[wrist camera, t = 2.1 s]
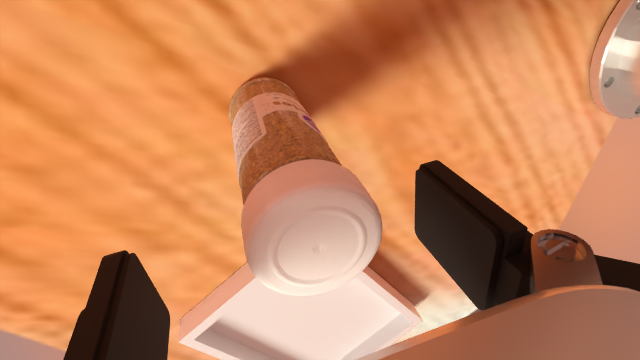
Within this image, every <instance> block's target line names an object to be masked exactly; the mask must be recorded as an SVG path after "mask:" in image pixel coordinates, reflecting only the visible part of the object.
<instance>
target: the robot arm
mask: <svg viewBox="0 0 640 360" xmlns="http://www.w3.org/2000/svg"><path fill="white" fill-rule="evenodd" d="M589 84H590V91H591V95H592V98H593V100H594V103H595V104H596V105H597V106H598V107H599V109H600V110H602V111H604V112H605V113H607V114H610V115H613V116H616V117H619V118H629V119H632V118H637V117H640V0H620V1H619V3H618V4H617V6H616V7H615V9H614V11H613V12H612V14H611V15H610V17H609V18H608V20H607V22H606V24H605V26H604V28H603V30H602V32H601V34H600V36H599V39H598V42H597V44H596V47H595V50H594V53H593V57H592V61H591V66H590V77H589ZM527 229H528V228H527V227H526V226H525V225H523V224H522V223H521V222H519V221H518V220H517V219H515V218H514V217H513V216H511V215H510V214H509V213H507V212H506V211H505V210H503V209H502V208H501V207H499V206H498V205H497V204H495V203H494V202H493V201H491V200H490V199H489V198H487V197H486V196H485V195H483V194H482V193H481V192H480V191H478V190H477V189H476V188H474V187H473V186H472V185H470V184H469V183H468V182H466V181H465V180H464V179H462V178H461V177H460V176H458V175H457V174H456V173H454V172H453V171H452V170H450V169H449V168H448V167H446V166H445V165H444V164H442V163H441V162H440V161H438V160H435V161H431V162H428V163H424V164H421V165H420V167H419V169H418V170H417V171H416V181H415V233H416V235H417V237H418V239H419V240H420V241H421V242H422V243H423V245H424V246H425V247H426V248H427V249H428V250H429V252H430V253H431V254H432V255H433V256H434V258H435V259H436V260H437V261H438V262H439V263H440V265H441V266H442V267H443V268H444V269H445V270H446V272H447V273H448V274H449V275H450V276H451V278H452V279H453V280H454V281H455V282H456V283H457V285H458V286H459V287H460V288H461V289H462V290H463V292H464V293H465V294H466V295H467V296H468V298H469V299H470V300H471V301H472V302H473V303H474V305H475V306H476V307H477V308H478V309H480V310H483V311H481V312H478V313H475V314H472V315H470V316H467V317H464V318H462V319H459V320H457V321H454V322H451V323H449V324H446V325H443V326H441V327H438V328H436V329H433V330H430V331H428V332H425V333H423V334H420V335H417V336H415V337H412V338H409V339H407V340H404V341H402V342H399V343H396V344H394V345H391V346H389V347H386V348H384V349H381V350H378V351H376V352H373V353H371V354H368V355H366V356H363V357H360V358H358V359H355V360H640V264H636V263H632V262H627V261H622V260H617V259H613V258H608V257H602V256H598V255H594V253H593V250H592V249H591V247H590V245H588V244H587V243H586V242H585V241H584V240H583V239H581V238H579V237H578V236H576V235H574V234H571V233H569V232H565V231H561V230H553V229H547V230H541V231H539V232H537V233H535V234H534V235H533V234H531V233H530V232H529V231H527ZM169 329H170V315H169V311H168V309H167V307H166V305H165V304H164V302H163V300H162V298H161V297H160V295H159V293H158V292H157V290H156V288H155V286H154V285H153V283H152V281H151V280H150V278H149V276H148V274H147V273H146V271H145V269H144V268H143V266H142V264H141V262H140V261H139V259H138V257H137V256H136V254H135V253H131V254H129V253H128V252H127V251H125V250H124V251H120V252H117V253H113V254H110V255H107V256H104V257H103V258H102V261H101V263H100V266H99V269H98V272H97V275H96V278H95V281H94V284H93V287H92V290H91V293H90V296H89V299H88V302H87V305H86V308H85V309H84V310H83V311H82V312H81V313H80V315H79V317H78V320H77V322H76V325H75V328H74V331H73V334H72V337H71V340H70V342H69V345H68V348H67V351H66V354H65V357H64V360H167V355H168V342H169Z"/></svg>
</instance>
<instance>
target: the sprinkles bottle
mask: <svg viewBox="0 0 640 360" xmlns="http://www.w3.org/2000/svg"><path fill="white" fill-rule="evenodd" d="M229 119H230V121H231V125H232V135H233V143H234V151H235V158H236V166H237V173H238V180H239V185H240V188H241V192H242V197H243V204H244V206H243V210H242V217H241V227H242V236H243V242H244V249H245V254H246V259H247V263H248V265H249V268H250V269H251V271H252V273H253V274H254V276H255V277H256V278H257V279H258V280H259V281H260V282H261V283H262V284H264V285H265V286H266V287H268V288H270V289H272V290H274V291H276V292H279V293H282V294H287V295H293V296H309V295H316V294H321V293H325V292H328V291H331V290H334V289H336V288H338V287H340V286H342V285H344V284H346V283H348V282H349V281H351V280H352V279H353V278H355V277H356V276H357V275H358V274H360V273H361V272H362V271H363V270H364V269H365V268H366V266H367V265H368V264H369V263H370V261H371V260H372V258H373V257H374V255H375V253H376V252H377V249H378V247H379V244H380V242H381V237H382V220H381V215H380V212H379V210H378V207H377V206H376V204H375V202H374V201H373V199H372V198H371V196H370V195H369V193H368V192H367V190H366V189H365V187H364V186H363V185H362V183H361V182H360V181H359V179H358V178H357V177H356V176H355V175H354V174H353V173H352V172H351V171H350V170H348V169H347V168H345V167H343V166H342V165H341V164H340V162H339V161H338V159H337V158H336V156H335V154H334V153H333V152H332V150H331V149H330V147H329V145H328V143H327V141H326V140H325V138H324V137H323V135H322V134H321V133H320V131H319V130H318V128H317V127H316V125H315V124H314V122H313V121H312V119H311V118H310V116H309V115H308V113H307V111H306V110H305V109H304V107H303V106H302V105H301V104H300V102H299V100H298V97H297V95H296V93H295V92H294V91H293V90H292V89H291V88H290V87H289V86H288V85H287V84H285V83H284V82H282V81H280V80H278V79H273V78H268V77H262V78H255V79H253V80H251V81H248V82H246V83H245V84H243V85H242V86H241V87H240V88H238V89H237V90H236V91H235V93H234V95H233V97H232V99H231V101H230V105H229Z"/></svg>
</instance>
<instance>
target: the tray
mask: <svg viewBox="0 0 640 360" xmlns="http://www.w3.org/2000/svg"><path fill="white" fill-rule="evenodd" d="M421 322H423V320H422V318H421V317H420V315H419V314H418V312H417V310H416V309H415V307H414V306H413V304H412V303H411V302H410V301H408V300H407V299H406V298H405V297H404V296H403V295H401V294H400V293H399V292H398V291H397V290H396V289H394V288H393V287H392V286H391V285H390V284H388V283H387V282H386V281H385V280H384V279H383V278H381V277H380V276H379V275H378V274H377V273H376V272H374V271H373V270H372V269H371V268H370V267H368V266H366V268H365V269H364V270H363V271H362V272H361V273H360V274H358V275H357V276H356V277H355V278H353V279H352V280H351V281H349V282H348V283H346V284H344V285H342V286H340V287H338V288H336V289H334V290H331V291H328V292H325V293H321V294H316V295H309V296H293V295H287V294H282V293H279V292H276V291H274V290H272V289H270V288H268V287H266V286H265V285H264V284H262V283H261V282H260V281H259V280H258V279H257V278H256V277H255V276H254V274H253V273H252V271H251V269H250V268H249V265H248V263H246V264H244V265H243V266H242V267H241V268H240V269H239V270H237V271H236V272H235V273H234V274H233V275H232V276H230V277H229V278H228V279H227V280H226V281H225V282H223V283H222V284H221V285H220V286H219V287H217V288H216V289H215V290H214V291H213V292H212V293H210V294H209V295H208V296H207V297H206V298H205V299H203V300H202V301H201V302H200V303H199V304H198V305H196V306H195V307H194V308H193V309H192V310H190V311H189V312H188V313H187V314H186V315H185V316H183V317H182V318H181V319H180V328H179V340H178V342H179V343H181V344H184V345H186V346H189V347H191V348H194V349H196V350H198V351H201V352H203V353H206V354H208V355H211V356H213V357H216V358H218V359H221V360H355V359H358V358H360V357H363V356H366V355H368V354H371V353H373V352H376V351H378V350H381V349H384V348H386V347H389V346H390V345H392V344H393V343H394V342H396V341H397V340H398V339H400V338H401V337H402V336H404V335H405V334H406V333H408V332H409V331H410V330H412V329H413V328H414V327H416V326H417V325H419V324H420V323H421Z"/></svg>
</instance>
